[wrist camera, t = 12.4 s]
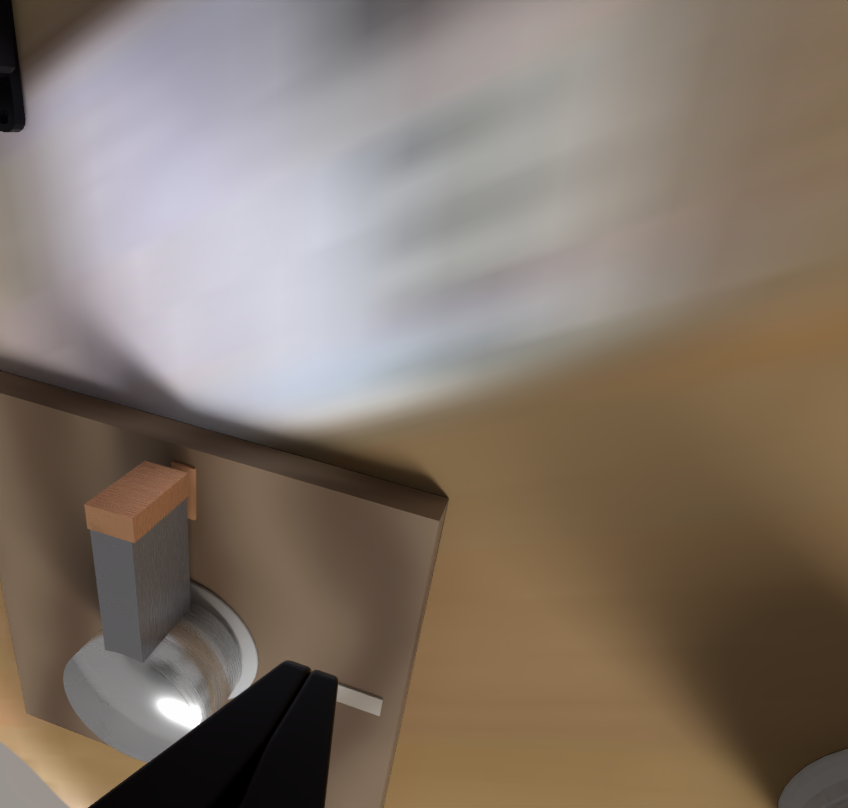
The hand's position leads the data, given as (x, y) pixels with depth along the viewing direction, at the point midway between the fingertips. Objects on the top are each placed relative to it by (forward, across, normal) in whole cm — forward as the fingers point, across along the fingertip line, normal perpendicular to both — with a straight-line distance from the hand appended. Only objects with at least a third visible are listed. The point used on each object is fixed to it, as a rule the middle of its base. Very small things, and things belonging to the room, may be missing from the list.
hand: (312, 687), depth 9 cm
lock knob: (+11, +10, +12) cm, 19 cm away
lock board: (+13, +10, +15) cm, 22 cm away
